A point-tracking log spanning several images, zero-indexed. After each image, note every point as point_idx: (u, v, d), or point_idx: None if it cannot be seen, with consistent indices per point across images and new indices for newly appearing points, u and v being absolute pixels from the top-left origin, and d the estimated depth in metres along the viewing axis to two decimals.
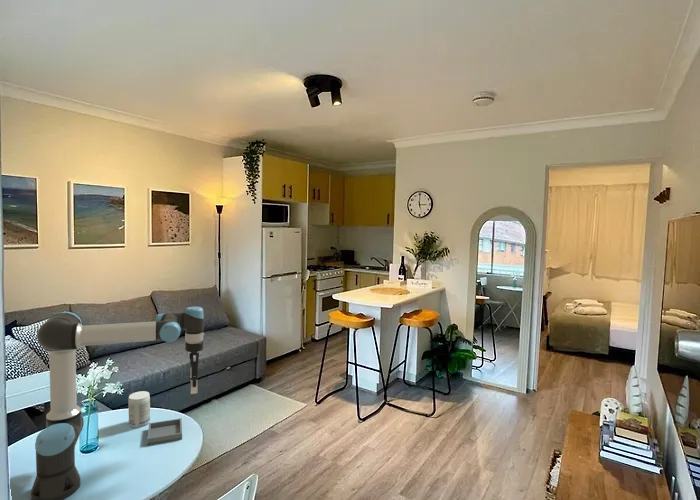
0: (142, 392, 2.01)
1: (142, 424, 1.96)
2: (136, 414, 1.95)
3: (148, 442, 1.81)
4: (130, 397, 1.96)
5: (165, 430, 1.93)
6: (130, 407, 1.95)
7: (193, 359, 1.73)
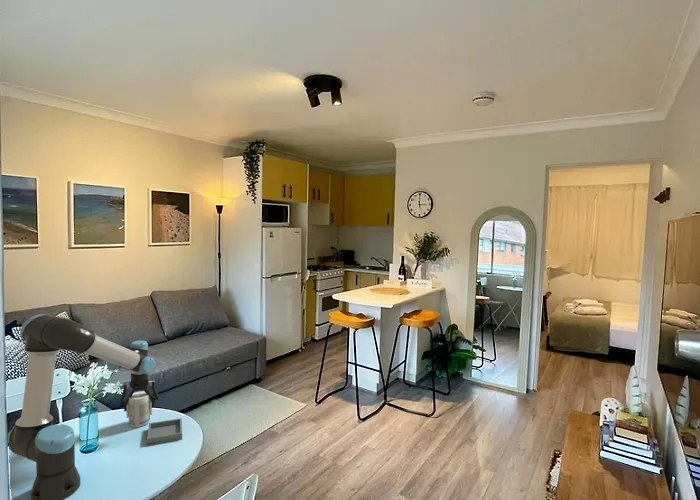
0: (142, 392, 2.01)
1: (142, 424, 1.96)
2: (136, 414, 1.95)
3: (148, 442, 1.81)
4: (130, 397, 1.96)
5: (165, 430, 1.93)
6: (130, 407, 1.95)
7: (124, 386, 1.96)
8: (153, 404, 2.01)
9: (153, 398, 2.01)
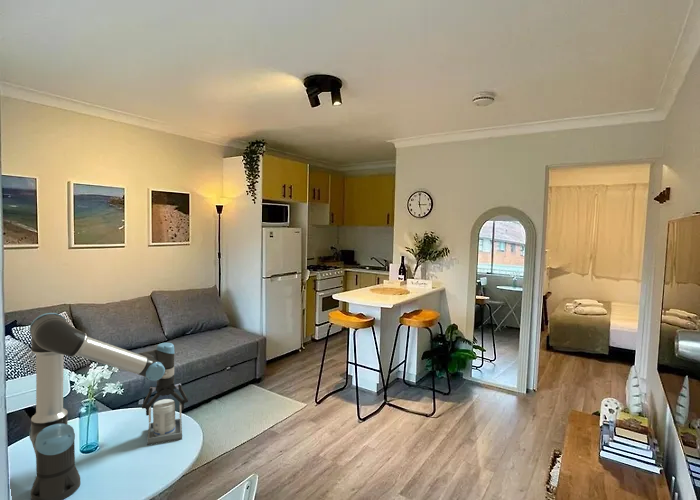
0: (167, 400, 1.92)
1: (167, 434, 1.87)
2: (162, 424, 1.86)
3: (148, 442, 1.81)
4: (155, 405, 1.87)
5: None
6: (155, 416, 1.86)
7: (149, 389, 1.87)
8: (183, 407, 1.93)
9: (183, 400, 1.93)
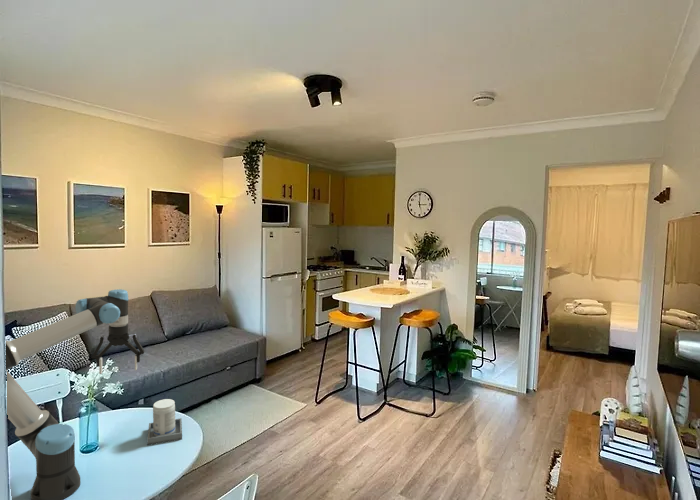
0: (167, 400, 1.92)
1: (167, 434, 1.87)
2: (162, 424, 1.86)
3: (148, 442, 1.81)
4: (155, 405, 1.87)
5: None
6: (155, 416, 1.86)
7: None
8: (138, 359, 1.80)
9: (138, 352, 1.80)
